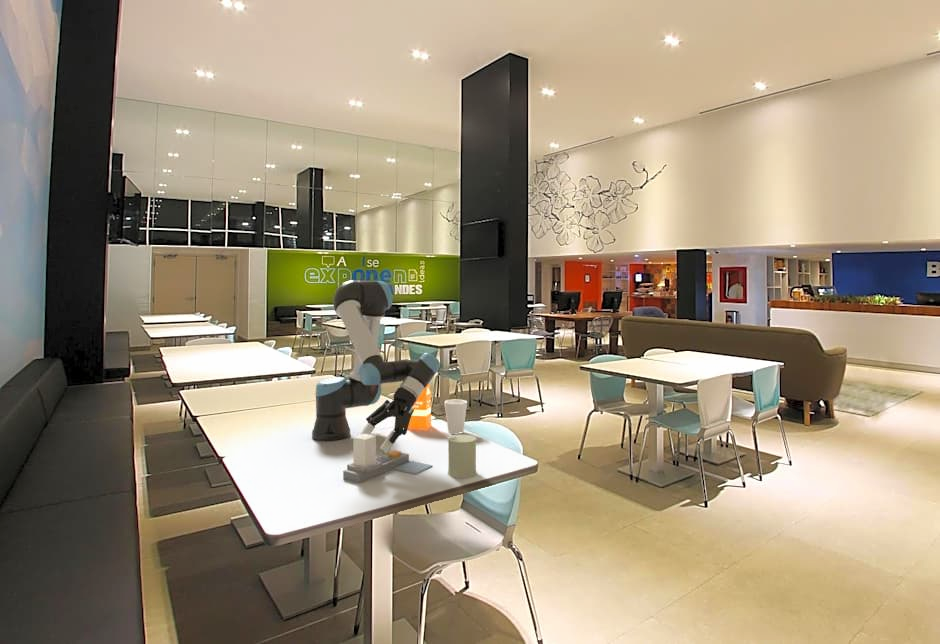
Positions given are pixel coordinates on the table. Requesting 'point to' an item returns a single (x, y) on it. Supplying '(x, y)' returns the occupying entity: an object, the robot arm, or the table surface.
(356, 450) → the white tall block
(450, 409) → the foam cup
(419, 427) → the orange juice
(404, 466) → the mat
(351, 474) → the strip
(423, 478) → the table surface
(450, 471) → the can
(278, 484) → the table surface
